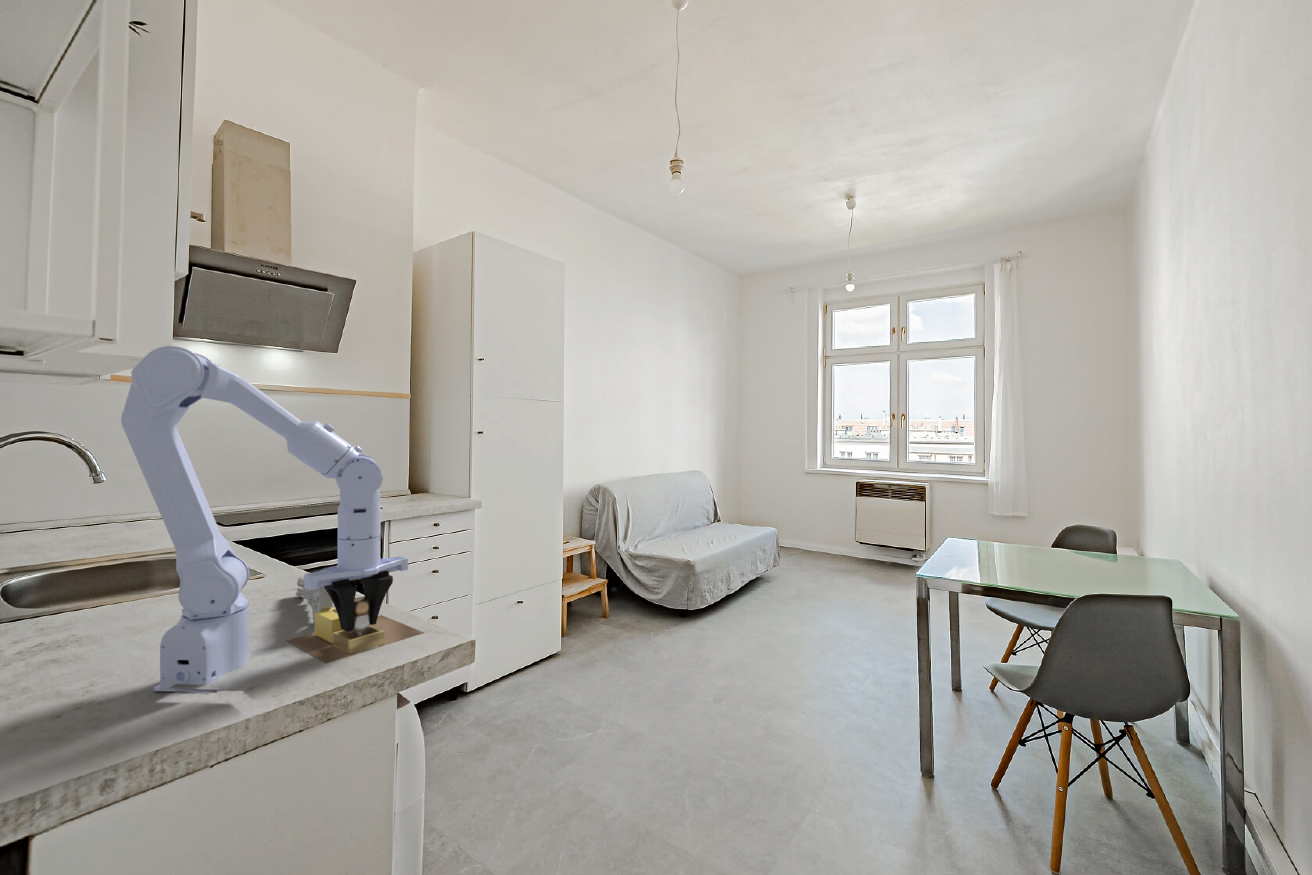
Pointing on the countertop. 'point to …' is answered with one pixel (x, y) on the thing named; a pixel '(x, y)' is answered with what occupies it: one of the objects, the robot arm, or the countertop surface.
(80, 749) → the countertop surface
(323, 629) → the block
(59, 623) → the countertop surface
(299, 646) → the board
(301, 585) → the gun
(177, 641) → the robot arm
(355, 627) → the silver and brown cylinder
